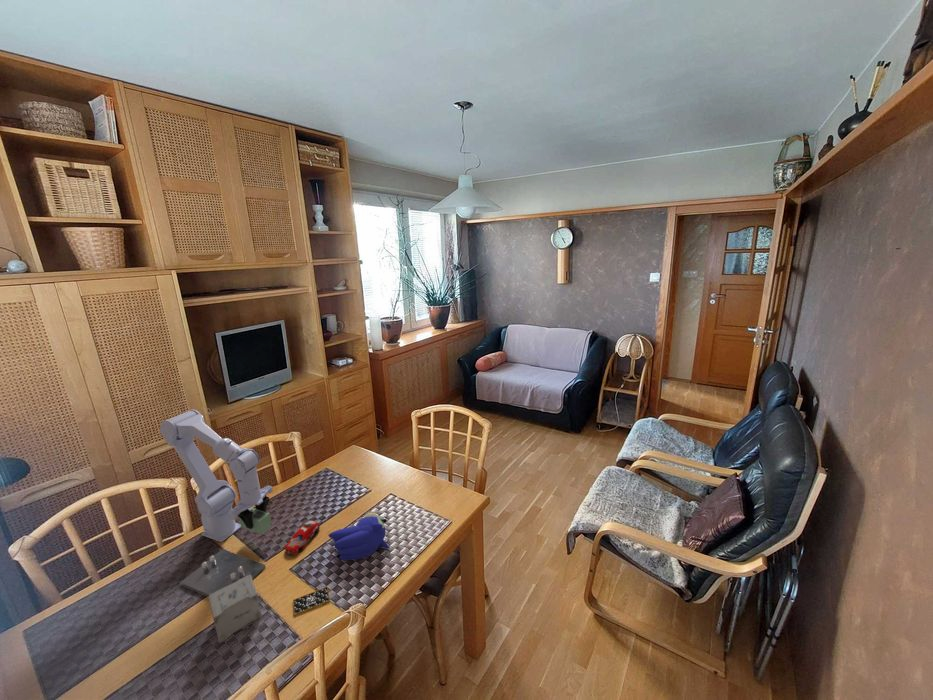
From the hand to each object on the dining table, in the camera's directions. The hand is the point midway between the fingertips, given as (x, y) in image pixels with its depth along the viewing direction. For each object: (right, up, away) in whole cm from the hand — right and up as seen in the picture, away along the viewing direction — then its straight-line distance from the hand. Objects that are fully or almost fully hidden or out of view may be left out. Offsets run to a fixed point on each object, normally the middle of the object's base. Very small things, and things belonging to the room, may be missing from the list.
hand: (255, 522), depth 121 cm
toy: (+36, -8, -1) cm, 37 cm away
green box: (0, -1, 0) cm, 2 cm away
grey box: (+10, -14, -25) cm, 31 cm away
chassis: (-3, -10, -12) cm, 16 cm away
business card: (+27, -13, -20) cm, 36 cm away
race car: (+15, -7, +2) cm, 17 cm away
